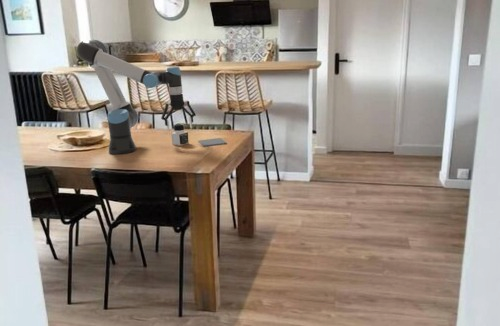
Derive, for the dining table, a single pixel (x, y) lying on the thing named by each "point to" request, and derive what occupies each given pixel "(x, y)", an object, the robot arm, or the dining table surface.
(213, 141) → the slate coaster
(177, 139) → the medicine bottle
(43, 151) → the dining table surface
